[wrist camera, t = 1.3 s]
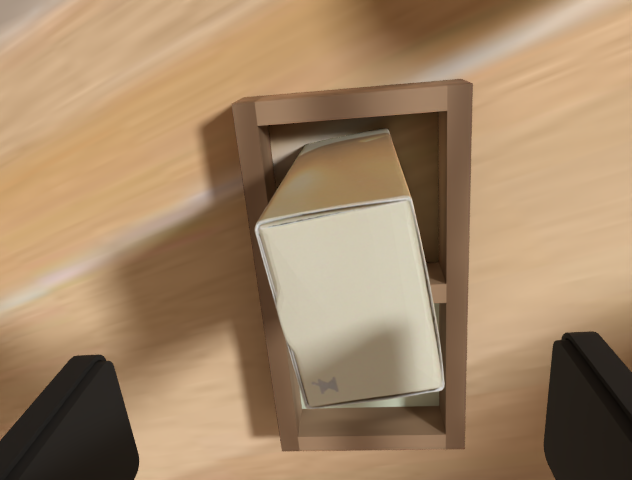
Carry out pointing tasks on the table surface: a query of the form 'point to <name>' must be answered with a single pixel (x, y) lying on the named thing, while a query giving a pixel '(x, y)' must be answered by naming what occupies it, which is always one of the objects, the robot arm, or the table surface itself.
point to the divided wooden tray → (445, 276)
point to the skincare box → (351, 275)
